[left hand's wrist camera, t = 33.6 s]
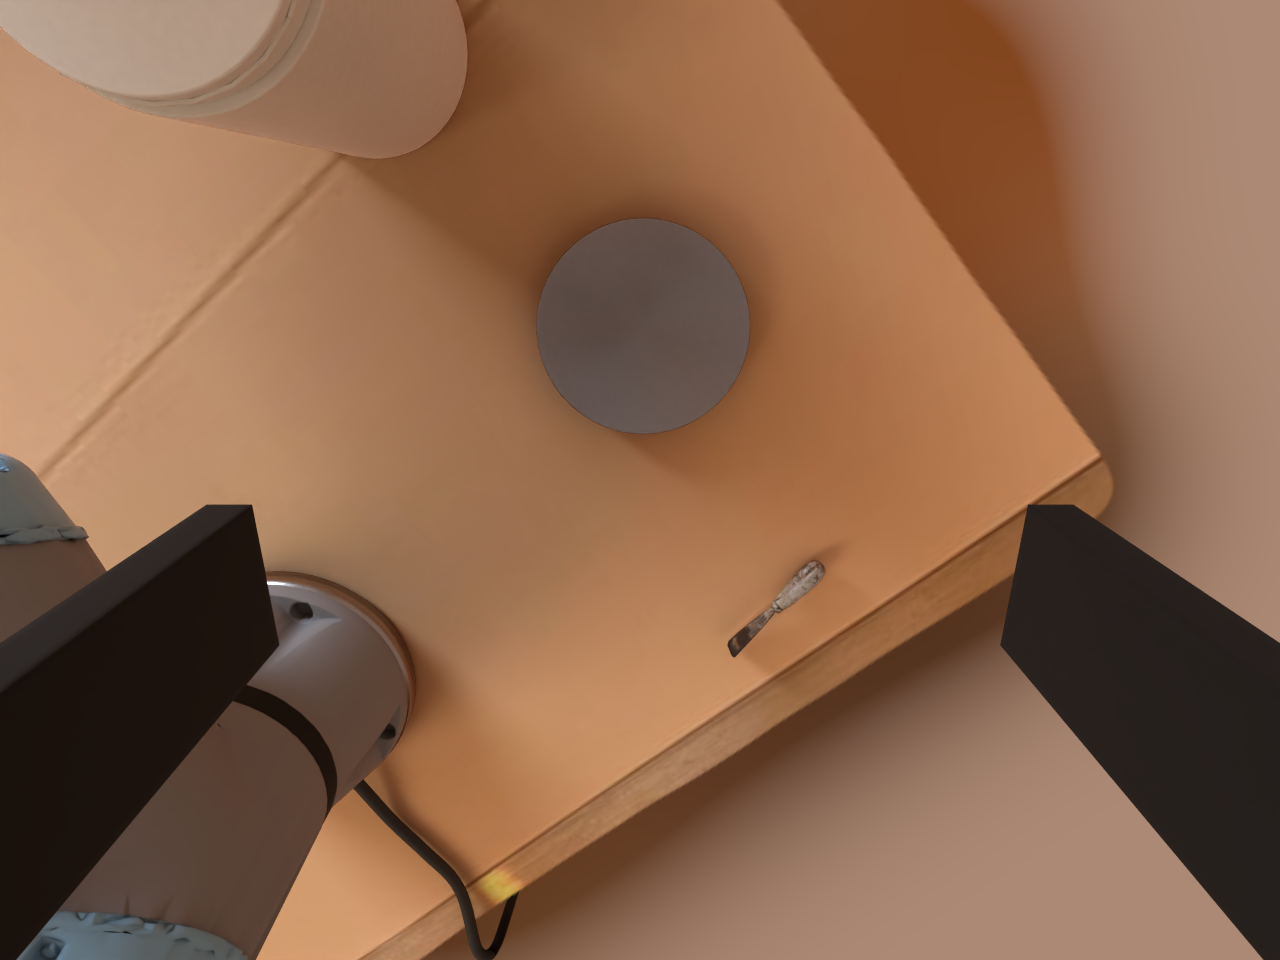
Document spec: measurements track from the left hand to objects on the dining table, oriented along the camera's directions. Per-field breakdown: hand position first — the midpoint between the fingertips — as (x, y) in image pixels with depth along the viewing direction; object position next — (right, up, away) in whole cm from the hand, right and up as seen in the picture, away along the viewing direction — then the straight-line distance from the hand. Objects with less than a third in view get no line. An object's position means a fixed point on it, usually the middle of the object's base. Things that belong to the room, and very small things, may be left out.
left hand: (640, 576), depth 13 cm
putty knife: (+8, -6, +33) cm, 35 cm away
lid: (0, +10, +26) cm, 28 cm away
